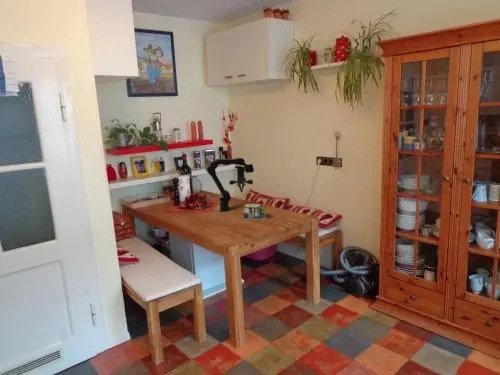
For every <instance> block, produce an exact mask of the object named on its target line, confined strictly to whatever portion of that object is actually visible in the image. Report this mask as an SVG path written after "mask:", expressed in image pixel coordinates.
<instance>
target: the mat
mask: <svg viewBox="0 0 500 375" xmlns="http://www.w3.org/2000/svg"><path fill="white" fill-rule="evenodd" d="M267 213H268V212H264V215H262V216H261V217H260V218H259V219H248V218H243V219H244V220H243V221H260V220H261V221H262V220H264V221H265V220H267V217H268V214H267Z"/></svg>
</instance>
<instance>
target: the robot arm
mask: <svg viewBox="0 0 500 375" xmlns="http://www.w3.org/2000/svg"><path fill="white" fill-rule="evenodd" d="M219 165H235V166H234V169H236V174H237V175H236V176H237V177H236V180H235V179H230V180H229V182H228V183H229V185H231V186H233V185H234V184H236V186H237V187H238V188H239V190H240V193H241V194H242V193H243V190H244V187H245V186H246V185H247V184H248V185H253V184H254V179H251V178H250V179H247V178H246V177H245V173H246V174H248V173H250V174H251V173H254V172H255V170H254V169H255V168H254V165H253V163H250V164H247V163H246V160H245V159H244V158H243V157H235V158H221V159H220V158H215V159H214V160H213V161H212V162H211V163H210V164H208V165H207V166H206V167H205V172H206V173H207V174H208V175H209V176H210V177H211V178H212V180H213V182H214V184H215V185H216V187H217V189H218V191H219V193H220V196H221V197H220V198H219V200H218V201H219V208H220V209H219V212H229V210H230V204H229V203H230V201H231V196H232V195H231V194H230V192H229V191H228V189H225V188H224V186H223V184H222V183H221V181H220V179H219V177H218V175H217V172H216V169H218V167H219Z"/></svg>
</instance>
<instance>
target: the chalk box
mask: <svg viewBox="0 0 500 375" xmlns="http://www.w3.org/2000/svg"><path fill="white" fill-rule="evenodd" d="M264 213H265V208H262V204H260V203H246V204H245V205H243V219H245V218H248V219H259V218H260V217H261V216H262V215H264Z"/></svg>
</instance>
